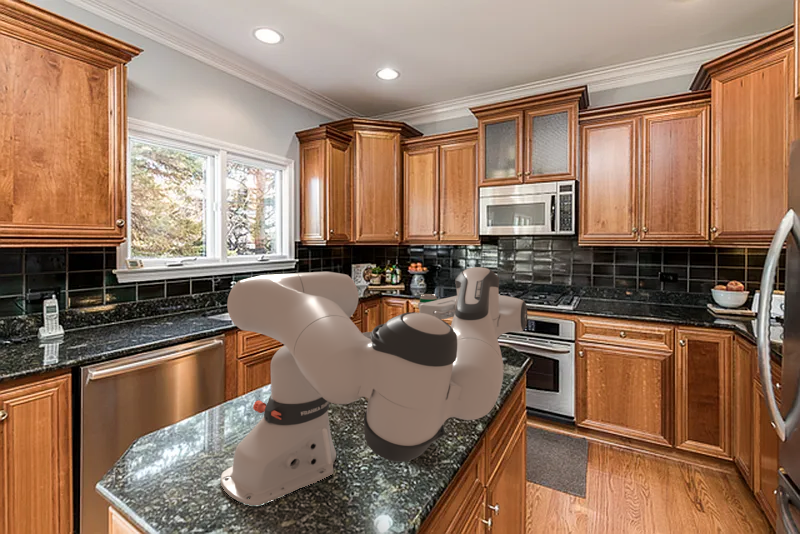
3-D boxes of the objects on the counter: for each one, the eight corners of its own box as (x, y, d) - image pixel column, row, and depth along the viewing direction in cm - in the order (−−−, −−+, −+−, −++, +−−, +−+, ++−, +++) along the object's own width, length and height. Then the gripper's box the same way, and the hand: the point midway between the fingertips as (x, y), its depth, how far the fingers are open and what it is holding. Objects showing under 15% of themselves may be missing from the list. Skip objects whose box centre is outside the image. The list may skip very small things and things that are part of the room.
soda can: (435, 338, 109) (436, 296, 108) (417, 337, 110) (418, 295, 109) (437, 334, 114) (438, 294, 113) (420, 333, 115) (421, 293, 114)
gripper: (446, 327, 95) (403, 320, 104) (485, 314, 111) (445, 309, 120) (446, 302, 95) (403, 297, 104) (485, 292, 111) (445, 289, 119)
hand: (426, 303), depth 112 cm, fingers closed on soda can, 5 cm apart
